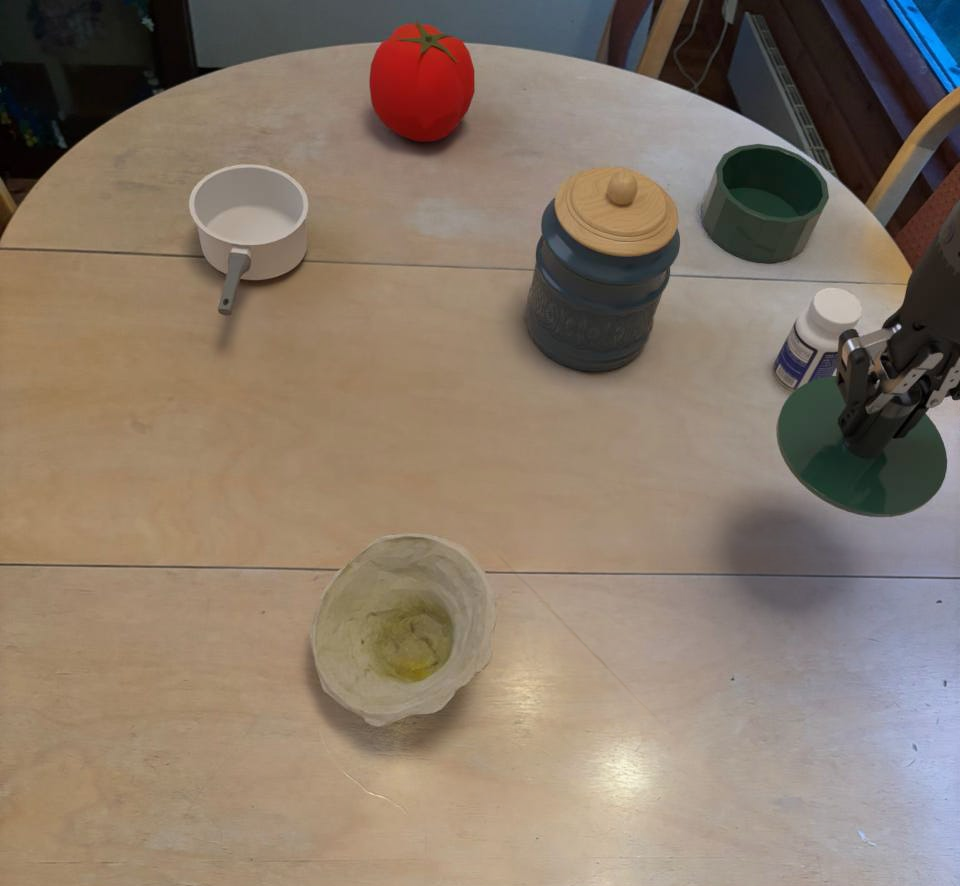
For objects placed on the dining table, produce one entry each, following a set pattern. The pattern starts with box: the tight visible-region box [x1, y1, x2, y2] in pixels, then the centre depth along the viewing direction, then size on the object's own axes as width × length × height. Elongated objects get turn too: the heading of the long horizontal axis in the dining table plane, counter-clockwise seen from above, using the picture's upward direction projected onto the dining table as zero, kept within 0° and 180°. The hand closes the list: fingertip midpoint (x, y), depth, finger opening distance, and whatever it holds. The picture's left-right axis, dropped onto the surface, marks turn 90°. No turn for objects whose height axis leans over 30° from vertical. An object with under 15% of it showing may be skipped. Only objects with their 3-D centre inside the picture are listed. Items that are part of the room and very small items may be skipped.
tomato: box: [368, 18, 476, 142], centre depth 105 cm, size 12×12×10 cm
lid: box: [775, 375, 948, 518], centre depth 71 cm, size 13×13×7 cm
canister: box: [525, 166, 681, 372], centre depth 90 cm, size 13×13×18 cm
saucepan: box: [188, 163, 309, 317], centre depth 93 cm, size 12×20×6 cm, turn 177°
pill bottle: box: [771, 287, 863, 395], centre depth 93 cm, size 6×6×10 cm
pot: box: [701, 143, 830, 264], centre depth 105 cm, size 12×12×5 cm
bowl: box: [308, 532, 498, 727], centre depth 74 cm, size 15×14×10 cm
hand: (871, 431), depth 72 cm, fingers closed on lid, 3 cm apart
